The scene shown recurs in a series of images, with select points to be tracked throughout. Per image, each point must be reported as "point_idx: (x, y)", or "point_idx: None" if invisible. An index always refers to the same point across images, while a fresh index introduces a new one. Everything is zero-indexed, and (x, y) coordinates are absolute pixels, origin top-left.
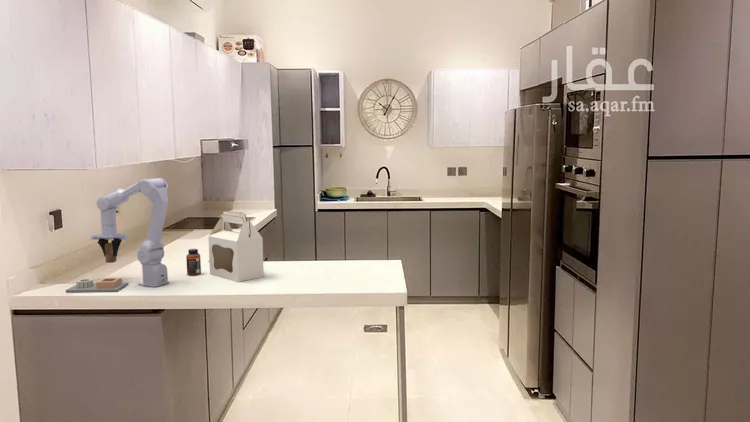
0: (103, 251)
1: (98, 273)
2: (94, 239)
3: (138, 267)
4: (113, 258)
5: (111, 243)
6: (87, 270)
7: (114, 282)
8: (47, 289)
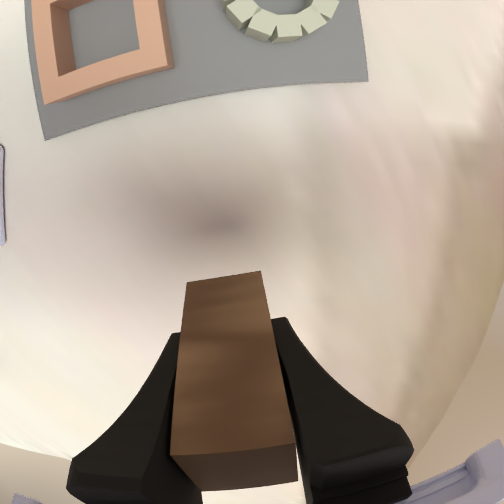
0: (300, 351)
1: (374, 336)
2: (465, 462)
3: None
4: (185, 312)
5: (214, 471)
6: (428, 359)
7: (34, 3)
8: (468, 21)
